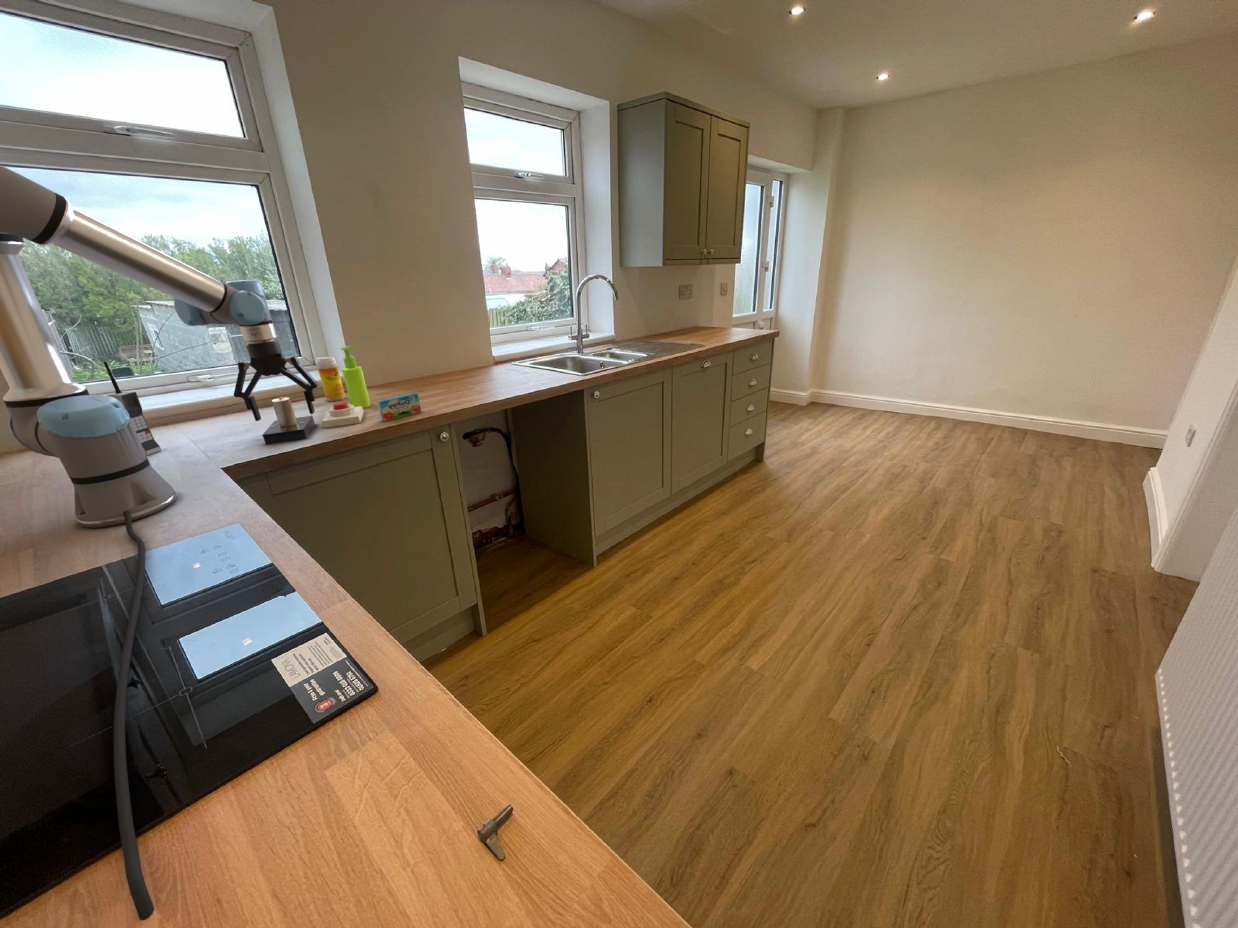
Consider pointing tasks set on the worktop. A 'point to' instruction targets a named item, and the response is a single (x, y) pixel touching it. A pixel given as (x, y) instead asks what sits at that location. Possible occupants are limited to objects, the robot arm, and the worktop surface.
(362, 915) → the worktop surface
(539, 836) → the worktop surface
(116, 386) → the vintage mobile phone
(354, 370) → the soap dispenser
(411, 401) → the yogurt
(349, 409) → the switch block
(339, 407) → the power button
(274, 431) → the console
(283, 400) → the beige upright cylinder
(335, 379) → the yellow bottle
